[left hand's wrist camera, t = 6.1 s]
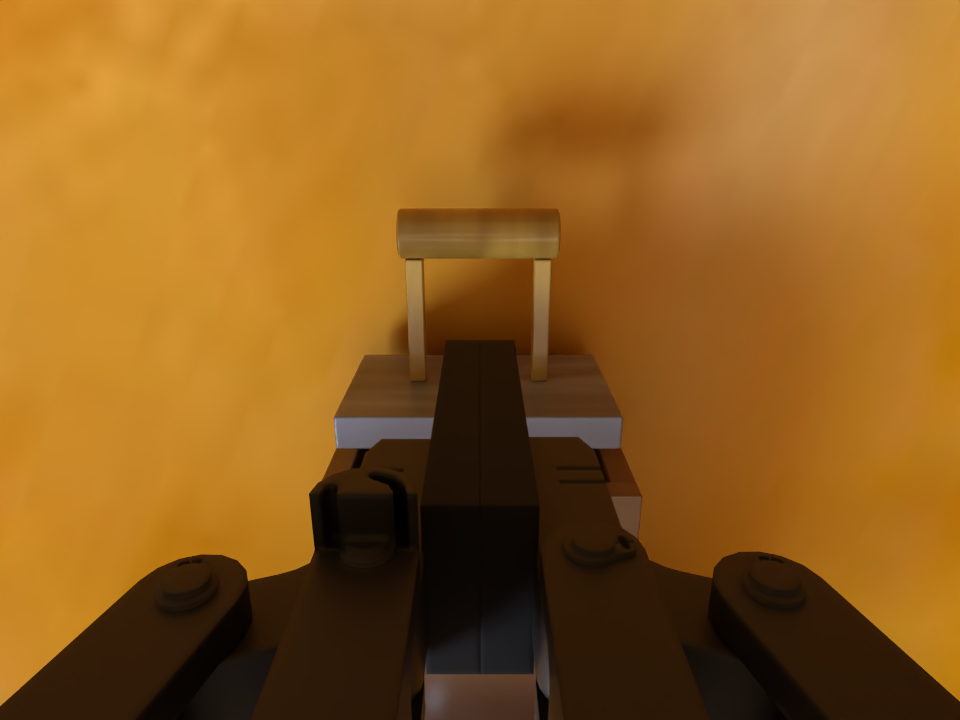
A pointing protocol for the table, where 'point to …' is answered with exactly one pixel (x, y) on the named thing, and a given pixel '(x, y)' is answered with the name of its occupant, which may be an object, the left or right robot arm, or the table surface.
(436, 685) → the cabinet
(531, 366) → the drawer
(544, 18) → the table surface
